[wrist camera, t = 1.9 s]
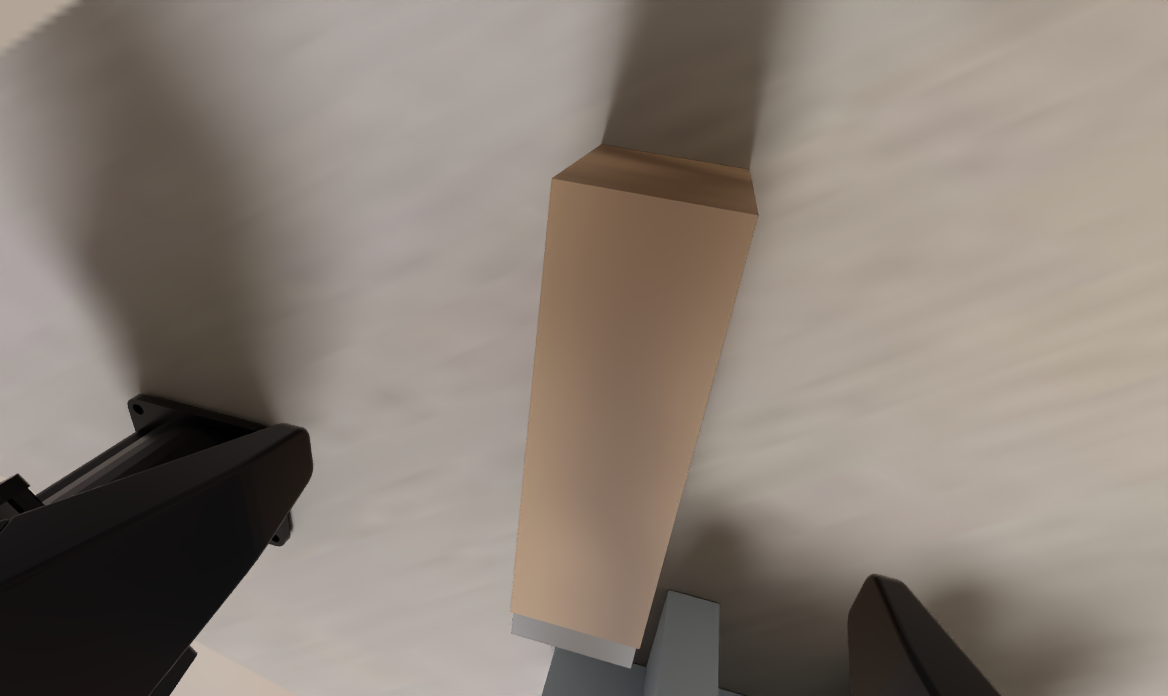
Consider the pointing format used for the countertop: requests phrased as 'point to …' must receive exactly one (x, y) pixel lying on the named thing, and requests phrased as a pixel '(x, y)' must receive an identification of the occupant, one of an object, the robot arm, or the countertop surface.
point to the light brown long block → (621, 385)
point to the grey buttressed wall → (652, 659)
